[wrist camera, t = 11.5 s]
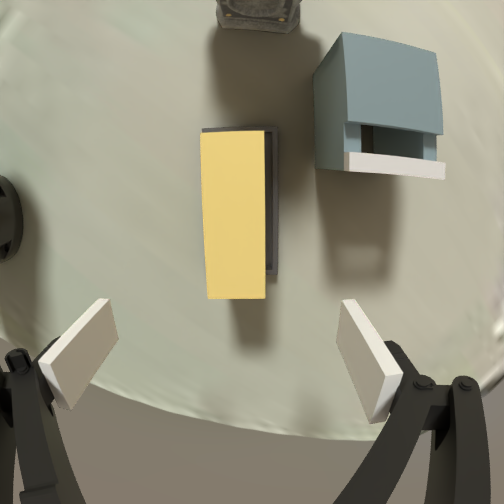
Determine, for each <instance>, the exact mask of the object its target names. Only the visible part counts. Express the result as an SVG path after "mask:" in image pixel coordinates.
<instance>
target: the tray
mask: <svg viewBox="0 0 504 504" xmlns="http://www.w3.org/2000/svg"><path fill="white" fill-rule="evenodd" d="M229 131H264V158H265V275H275V274H277V264H278V127H223V128H204V129H202V133H208V132H229Z"/></svg>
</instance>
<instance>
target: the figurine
mask: <svg viewBox="0 0 504 504" xmlns="http://www.w3.org/2000/svg"><path fill="white" fill-rule="evenodd" d="M216 1H217V8H216V16H217V19H218V21H219V23H220V25H221V27H222V28H230V29H246V30H261V31H269V32H279V33H286V34H288V33H289V32H290V31H292V30H293V29H294V27H295V26H297V25H298V23H299V14H300V10H299V3H300V2H301V1H302V0H216Z"/></svg>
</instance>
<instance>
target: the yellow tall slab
mask: <svg viewBox="0 0 504 504" xmlns="http://www.w3.org/2000/svg"><path fill="white" fill-rule="evenodd" d="M200 146H201V184H202V209H203V230H204V248H205V264H206V279H207V292H208V299H265V158H264V131H229V132H208V133H200Z"/></svg>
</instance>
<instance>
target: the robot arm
mask: <svg viewBox="0 0 504 504" xmlns="http://www.w3.org/2000/svg"><path fill="white" fill-rule="evenodd" d="M22 231H23V218H22V210H21V205H20V202H19V198H18V196H17V193H16V191H15V189H14V187H13V186H12V184H11V183H10V182H9V181H8V180H7V179H6V178H5V177H3V176H1V175H0V263H2V262H4V261H6V260H8V259H10V258H12V257H13V256H14V255H15V253H16V252H17V250H18V248H19V246H20V243H21V239H22ZM118 339H119V338H118V334H117V330H116V326H115V321H114V317H113V313H112V308H111V303H110V299H100V298H99V299H98V300H97V301H96V302H95V303H94V304H93V305H92V306H91V307H90V308H89V309H88V310H87V311H86V312H85V313H84V314H83V315H82V316H81V317H80V318H79V319H78V320H77V321H76V322H75V323H74V324H73V325H72V326H71V327H70V328H69V329H68V330H67V331H66V332H65V333H64V334H63V335H62V336H59V337H58V338H56V339H54V340H53V341H52V342H51V343H50V344H49V345H48V347H46V348H45V349H44V351H42V352H41V353H40V354H39V355H38V356H37V357H36V358H35V359H34V361H33V362H31V359H30V357H29V354H28V352H27V350H26V349H23V348H18V349H14V350H12V351H10V352H9V353H7V355H6V356H5V361H6V363H7V365H8V368H9V370H10V372H3V370H2V368H1V366H0V504H13V478H14V464H15V453H16V447H17V453H18V459H19V465H20V470H21V475H22V479H23V484H24V489H25V490H24V491H22V492H20V494H19V496H20V501H21V504H86V503H85V500H84V498H83V496H82V493H81V491H80V489H79V486H78V483H77V481H76V478H75V476H74V473H73V471H72V468H71V465H70V463H69V460H68V457H67V453H66V450H65V447H64V444H63V441H62V437H61V434H60V431H59V428H58V423H57V420H56V416H55V412H54V408H53V406H52V404H51V402H52V401H53V400H54V398H55V400H56V402H57V404H58V406H59V408H63V409H66V410H70V411H71V410H72V409H73V407H74V406H75V404H76V403H77V401H78V399H79V398H80V396H81V395H82V393H83V392H84V390H85V389H86V387H87V385H88V384H89V382H90V381H91V379H92V378H93V376H94V375H95V373H96V372H97V370H98V369H99V367H100V366H101V364H102V363H103V361H104V360H105V358H106V357H107V355H108V354H109V352H110V351H111V350H112V348H113V347H114V345H115V344H116V342H117V341H118ZM336 343H337V345H338V347H339V350H340V352H341V355H342V357H343V359H344V362H345V364H346V367H347V369H348V371H349V374H350V376H351V379H352V381H353V384H354V386H355V389H356V391H357V394H358V396H359V399H360V401H361V404H362V406H363V409H364V411H365V414H366V416H367V419H368V422H369V424H373V423H379V422H384V421H386V419H387V417H388V414H389V412H390V416H389V418H388V420H387V422H386V424H385V426H384V427H383V429H382V431H381V433H380V434H379V436H378V438H377V439H376V441H375V443H374V444H373V446H372V448H371V449H370V451H369V453H368V454H367V456H366V457H365V459H364V460H363V462H362V464H361V465H360V467H359V468H358V470H357V471H356V473H355V474H354V476H353V477H352V478H351V480H350V481H349V483H348V484H347V485H346V487H345V488H344V490H343V491H342V492H341V494H340V495H339V496H338V498H337V499H336V500H335V501H334V503H333V504H386V503H387V501H388V499H389V497H390V495H391V494H392V492H393V490H394V488H395V486H396V484H397V482H398V481H399V479H400V477H401V474H402V473H403V471H404V469H405V467H406V465H407V462H408V460H409V458H410V456H411V454H412V451H413V449H414V447H415V445H416V442H417V440H418V437H419V435H420V433H421V430H432V437H431V453H430V464H429V474H428V482H427V490H426V497H425V503H424V504H490V498H491V497H490V495H491V489H490V463H489V449H488V440H487V431H486V424H485V417H484V411H483V404H482V399H481V394H480V389H479V385H478V383H477V382H476V381H475V380H474V379H473V378H471V377H468V376H458V377H456V378H455V379H454V380H453V382H452V384H451V385H436V383H435V381H434V380H433V379H431V378H430V377H428V376H425V375H420V374H419V373H418V371H417V370H416V368H415V367H414V366H413V364H412V363H411V361H410V360H409V359H408V357H407V355H406V354H405V353H404V351H403V350H402V348H401V347H400V346H399V345H398V344H396V343H395V342H393V341H384V342H383V341H382V339H381V337H380V336H379V334H378V333H377V331H376V330H375V328H374V327H373V325H372V324H371V322H370V321H369V319H368V318H367V316H366V315H365V314H364V312H363V311H362V309H361V308H360V306H359V305H358V303H357V302H356V300H355V299H348V300H342V301H341V309H340V317H339V325H338V332H337V339H336Z"/></svg>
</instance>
